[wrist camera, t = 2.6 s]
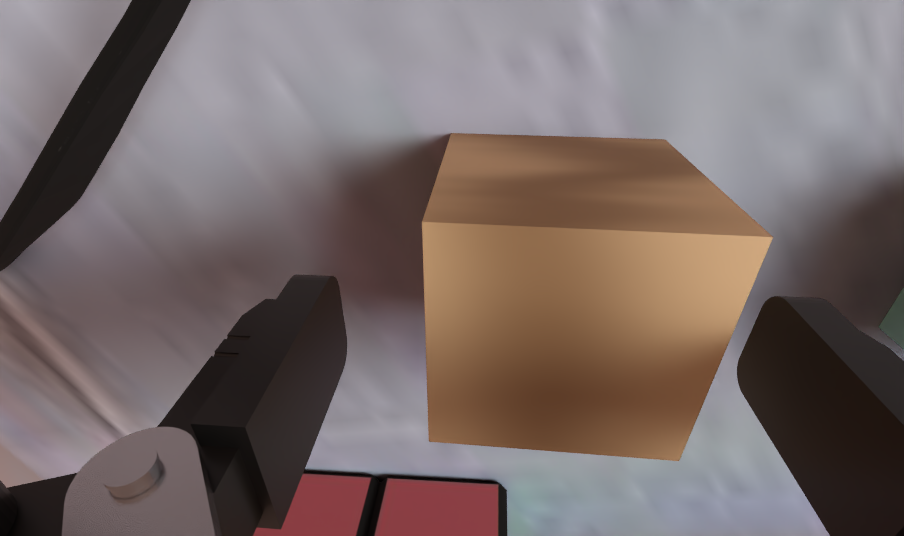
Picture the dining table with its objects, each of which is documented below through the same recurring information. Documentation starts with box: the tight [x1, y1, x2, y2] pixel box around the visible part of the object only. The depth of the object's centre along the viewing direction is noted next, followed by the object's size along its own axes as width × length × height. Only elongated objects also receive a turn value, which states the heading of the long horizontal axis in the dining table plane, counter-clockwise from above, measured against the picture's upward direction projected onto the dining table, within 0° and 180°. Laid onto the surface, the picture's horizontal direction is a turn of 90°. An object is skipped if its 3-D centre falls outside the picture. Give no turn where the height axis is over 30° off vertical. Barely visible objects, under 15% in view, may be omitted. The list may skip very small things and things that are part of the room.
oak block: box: [422, 133, 773, 461], centre depth 10 cm, size 5×5×5 cm
